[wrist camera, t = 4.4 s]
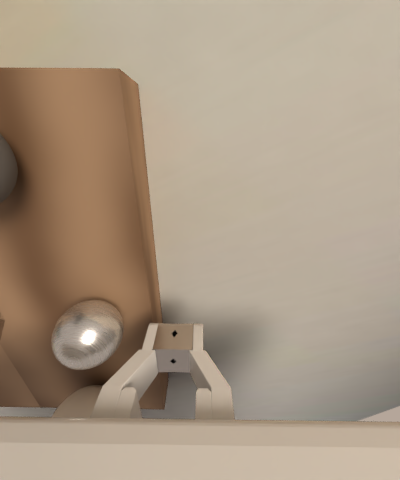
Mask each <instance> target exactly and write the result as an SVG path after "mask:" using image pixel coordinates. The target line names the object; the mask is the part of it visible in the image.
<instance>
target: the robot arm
mask: <svg viewBox="0 0 400 480" xmlns="http://www.w3.org/2000/svg"><path fill="white" fill-rule="evenodd" d="M158 372H186V373H190V375H191V377H192V379H193V381H194V383H195V385H196V387H197V389H198V390H197V391H196V410H195V419H144V418H142V414H141V409H140V405H139V400H140V398H141V397H142V396H143V394H144V393H145V391H146V390H147V389H148V387H149V386H150V384H151V383H152V381H153V380H154V379H155V377H156V376H157V374H158ZM0 480H400V422H364V421H363V422H362V421H288V420H235V418H234V409H233V401H232V392H231V387H230V386H229V384H228V383H227V381H226V380H225V378H224V377H223V375H222V374H221V372H220V371H219V370H218V368H217V367H216V365H215V364H214V362H213V361H212V359H211V358H210V356H209V355H208V353H207V352H206V350H203V324H167V323H150V324H149V326H148V329H147V333H146V336H145V340H144V343H143V347H142V350H138V351H137V352H136V353H135V354H134V355H133V356H132V357H131V358H130V359H129V360H128V361H127V362H126V363H125V364H124V365H123V366H122V367H121V368H120V369H119V370H118V371H117V372H116V373H115V374H114V375H113V376H112V377H111V378H110V379H109V380H108V381H107V382H106V383H105V384H104V385H103V386H102V389H101V391H100V394H99V396H98V399H97V401H96V404H95V406H94V409H93V411H92V414H91V416H90V418H69V417H0Z"/></svg>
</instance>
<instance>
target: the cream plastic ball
mask: <svg viewBox="0 0 400 480" xmlns="http://www.w3.org/2000/svg"><path fill="white" fill-rule="evenodd" d="M101 389H102V386H101V385H91V386H87V387H84V388H81V389H79V390H77V391H76V392H74V393H73V394H71V395H70V396H69V397H67V398H66V399H65V400H64V401H63V402H62V403H61V404H60V405H59V407H58V408H57V409H56V411H55V412H54V414H53V416H52V417H69V418H90V416H91V414H92V411H93V409H94V406H95V404H96V401H97V399H98V396H99V394H100V391H101Z"/></svg>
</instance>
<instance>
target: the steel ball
mask: <svg viewBox="0 0 400 480" xmlns="http://www.w3.org/2000/svg"><path fill="white" fill-rule="evenodd" d="M123 332H124V325H123V320H122V317H121V315H120V313H119V311H118V310H117V309H116V308H115V307H114V306H113V305H111V304H110V303H107V302H105V301H101V300H88V301H84V302H81V303H78V304H76V305H74V306H73V307H71V308H70V309H68V310H67V311H66V312H65V313H64V314H63V315H62V316H61V317H60V318H59V320H58V321H57V323H56V325H55V327H54V330H53V333H52V338H51V346H52V350H53V353H54V355H55V357H56V359H57V360H58V361H59V362H60V363H61V364H63V365H64V366H66V367H68V368H71V369H75V370H85V369H90V368H94V367H96V366H98V365H100V364H102V363H104V362H105V361H106V360H108V359H109V358H110V357H111V356H112V355H113V354H114V353H115V351H116V350H117V348H118V347H119V345H120V343H121V340H122V337H123Z"/></svg>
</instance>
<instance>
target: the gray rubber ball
mask: <svg viewBox="0 0 400 480" xmlns="http://www.w3.org/2000/svg"><path fill="white" fill-rule="evenodd" d="M17 175H18V167H17V162H16V159H15V156H14V153H13V151H12V149H11V148H10V146H9V144H8V143H7V141H6V140H5V139H4V137H3V136H2V135H1V134H0V203H1V202H3V201H4V200H5V199H6V198H7V197H8V196H9V195H10V193H11V192H12V190H13V189H14V187H15V185H16V181H17Z"/></svg>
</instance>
